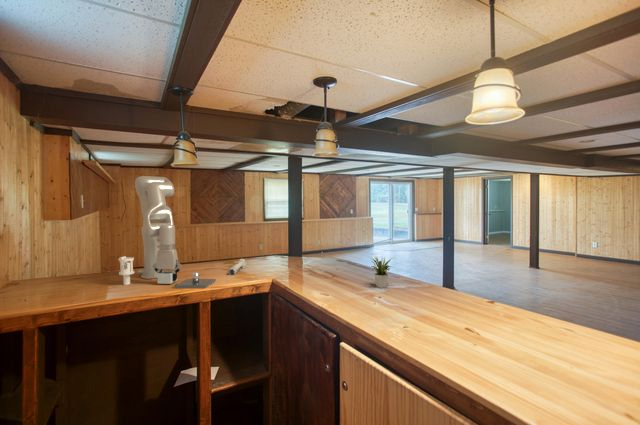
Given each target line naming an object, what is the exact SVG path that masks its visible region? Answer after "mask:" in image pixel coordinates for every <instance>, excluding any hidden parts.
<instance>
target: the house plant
mask: <svg viewBox="0 0 640 425" xmlns="http://www.w3.org/2000/svg"><path fill="white" fill-rule="evenodd" d="M383 256H384V254H382V256H381V260H379V259H378V257H377V256H374V258H372V260H373V261H372V260H371V262H372V263H373V265H371V267H370V268H372V269H373V270H372V271H376V273H374V281H375V286H376V288H381V289H383V288H385V289H386V288H387V286H388V281H389V276H390V275H389V273H387V271H388V272H390V269H391V268H392V265H388V264H389V263H390V261H391V260H392V259H394V257H391V258H390V259H388V260H387V261H386V256H384V257H383ZM367 257H369V258H370V255H369V256H367Z"/></svg>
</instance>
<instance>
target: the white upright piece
mask: <svg viewBox="0 0 640 425" xmlns="http://www.w3.org/2000/svg"><path fill="white" fill-rule="evenodd" d="M134 260H135V257H133V256H128V257H127V256H126V255H125V256H120V257H119V258H118V262H119V264H120V265H119V267H120V270H119V271H118V276H123V277H122V278H123V285H124V286H125V285H126V286H127V285H131V275H134V274H135V270H134V266H133V265H134V264H133V263H134Z"/></svg>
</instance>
